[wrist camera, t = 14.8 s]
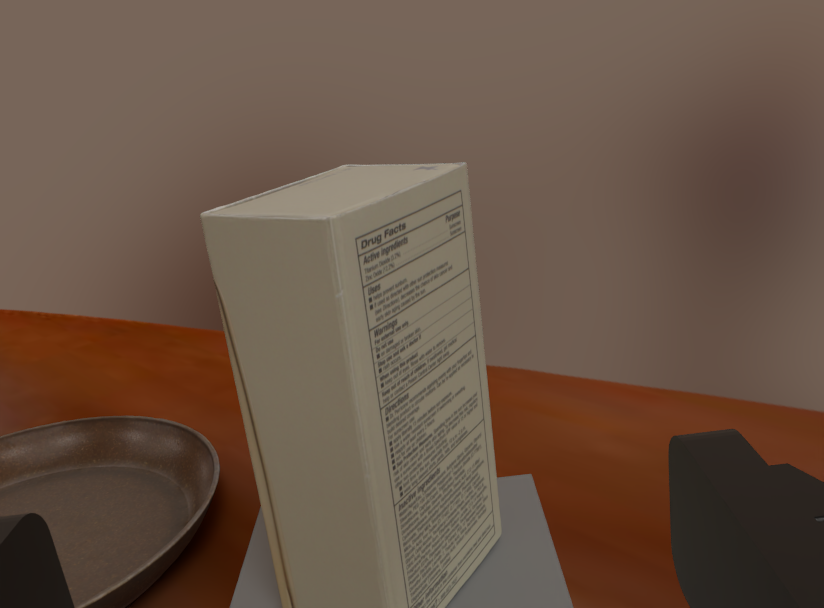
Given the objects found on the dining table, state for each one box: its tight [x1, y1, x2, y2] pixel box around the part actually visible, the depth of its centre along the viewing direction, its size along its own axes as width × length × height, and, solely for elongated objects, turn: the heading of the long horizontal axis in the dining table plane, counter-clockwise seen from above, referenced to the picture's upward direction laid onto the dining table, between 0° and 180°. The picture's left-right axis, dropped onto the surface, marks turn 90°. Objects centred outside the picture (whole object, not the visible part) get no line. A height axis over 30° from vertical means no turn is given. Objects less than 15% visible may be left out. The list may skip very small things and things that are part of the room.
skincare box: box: [200, 162, 502, 608], centre depth 22 cm, size 6×4×12 cm
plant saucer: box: [0, 416, 220, 608], centre depth 39 cm, size 21×21×3 cm
